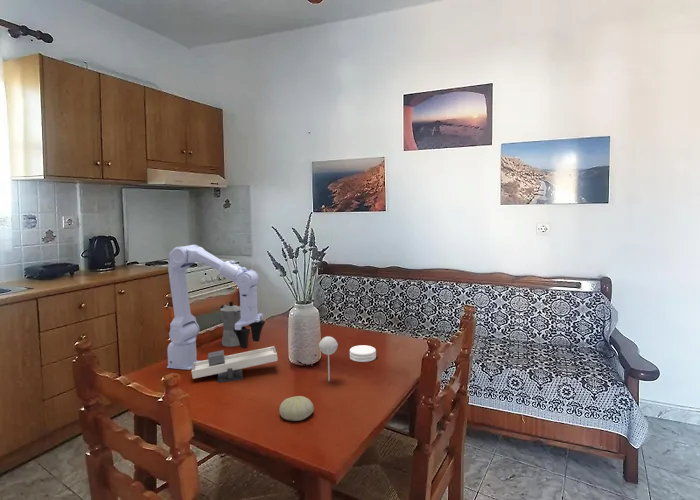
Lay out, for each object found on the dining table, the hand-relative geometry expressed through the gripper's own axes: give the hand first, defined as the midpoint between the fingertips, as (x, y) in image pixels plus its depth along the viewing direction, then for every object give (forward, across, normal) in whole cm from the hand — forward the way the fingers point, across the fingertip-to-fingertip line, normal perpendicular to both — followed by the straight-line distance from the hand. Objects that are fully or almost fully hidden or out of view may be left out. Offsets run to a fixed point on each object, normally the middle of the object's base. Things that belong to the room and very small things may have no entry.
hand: (250, 344), depth 151 cm
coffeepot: (+10, +26, +26) cm, 38 cm away
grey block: (+6, -6, +9) cm, 13 cm away
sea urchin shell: (+10, -23, -29) cm, 38 cm away
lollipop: (+10, +1, -29) cm, 30 cm away
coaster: (+10, +26, -33) cm, 43 cm away
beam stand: (+10, -4, +6) cm, 12 cm away
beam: (+7, -3, +4) cm, 9 cm away
